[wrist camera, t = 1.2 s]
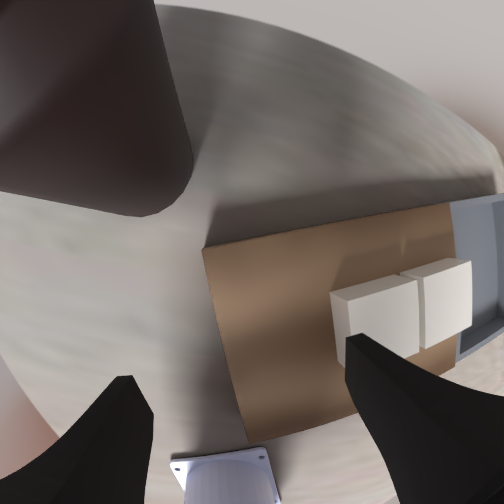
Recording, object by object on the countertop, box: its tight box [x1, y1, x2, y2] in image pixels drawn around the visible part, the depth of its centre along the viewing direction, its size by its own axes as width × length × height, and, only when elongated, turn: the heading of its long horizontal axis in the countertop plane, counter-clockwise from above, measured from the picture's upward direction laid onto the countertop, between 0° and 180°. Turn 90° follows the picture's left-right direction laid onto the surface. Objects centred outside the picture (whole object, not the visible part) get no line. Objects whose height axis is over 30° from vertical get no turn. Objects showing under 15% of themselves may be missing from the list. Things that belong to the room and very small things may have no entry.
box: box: [432, 193, 504, 363], centre depth 20 cm, size 13×10×3 cm
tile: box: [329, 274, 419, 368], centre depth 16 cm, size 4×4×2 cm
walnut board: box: [202, 203, 457, 444], centre depth 18 cm, size 13×17×3 cm
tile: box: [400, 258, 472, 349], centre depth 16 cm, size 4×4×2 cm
